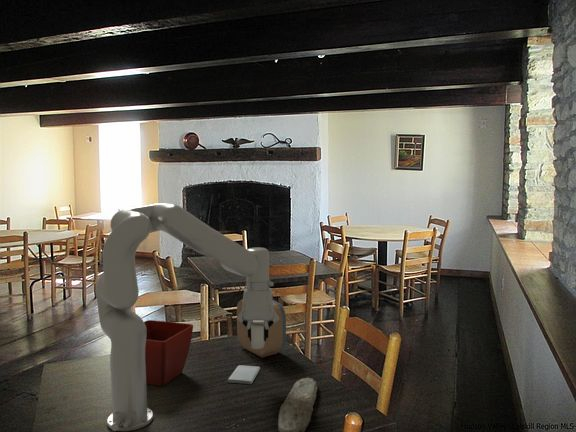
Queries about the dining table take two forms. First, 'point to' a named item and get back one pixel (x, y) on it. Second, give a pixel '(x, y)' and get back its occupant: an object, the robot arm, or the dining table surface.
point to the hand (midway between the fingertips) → (258, 339)
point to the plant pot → (166, 350)
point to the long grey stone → (298, 406)
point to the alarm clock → (275, 333)
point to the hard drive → (244, 374)
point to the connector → (257, 334)
